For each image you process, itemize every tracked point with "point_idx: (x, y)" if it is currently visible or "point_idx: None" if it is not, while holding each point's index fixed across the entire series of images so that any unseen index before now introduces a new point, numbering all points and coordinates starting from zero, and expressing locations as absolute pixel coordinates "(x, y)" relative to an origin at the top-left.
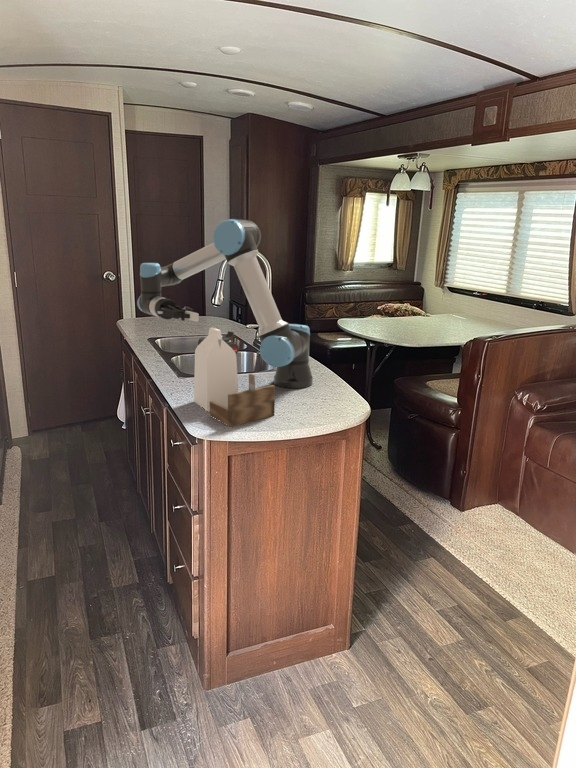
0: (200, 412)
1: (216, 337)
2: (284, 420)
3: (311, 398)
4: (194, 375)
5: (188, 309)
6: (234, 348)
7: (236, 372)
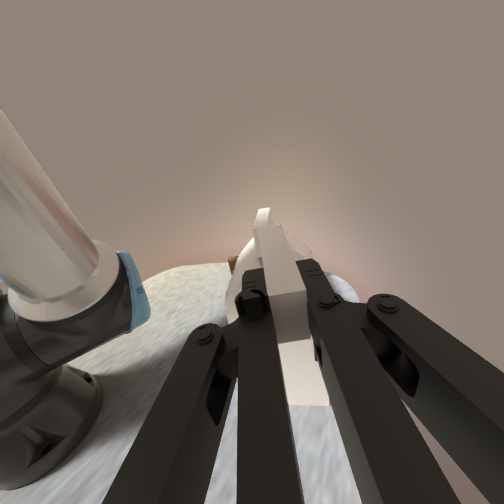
0: None
1: (273, 225)
2: None
3: (140, 326)
4: None
5: (265, 294)
6: None
7: None
